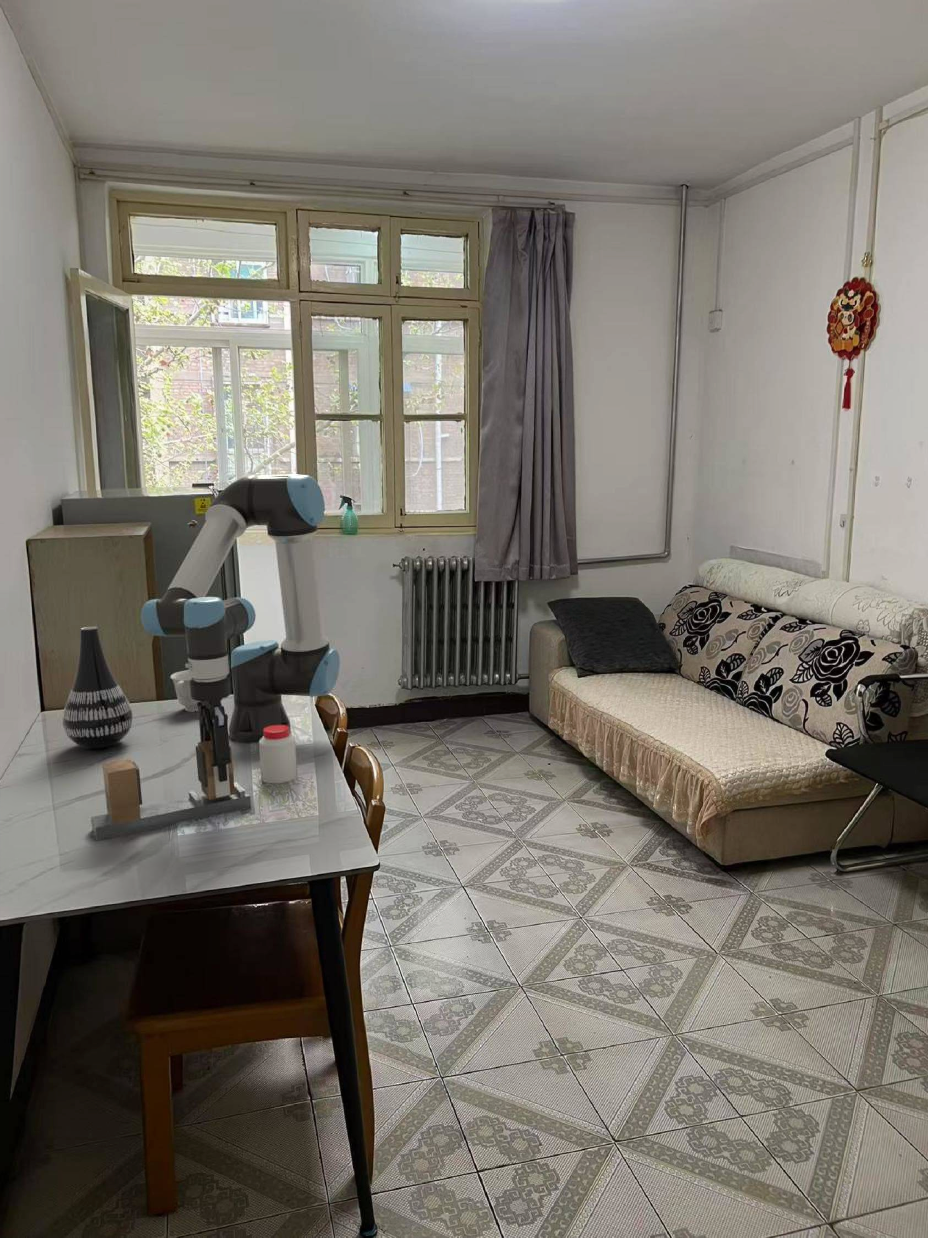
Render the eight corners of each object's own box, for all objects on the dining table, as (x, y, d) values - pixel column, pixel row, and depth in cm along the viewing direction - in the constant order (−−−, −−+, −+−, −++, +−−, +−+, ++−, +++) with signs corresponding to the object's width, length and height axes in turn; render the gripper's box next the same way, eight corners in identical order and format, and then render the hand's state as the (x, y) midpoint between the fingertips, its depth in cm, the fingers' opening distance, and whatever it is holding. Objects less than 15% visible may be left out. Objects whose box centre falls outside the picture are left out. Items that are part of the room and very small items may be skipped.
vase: (135, 733, 236) (125, 619, 231) (134, 751, 221) (123, 631, 216) (68, 740, 231) (56, 625, 226) (62, 760, 216) (49, 636, 211)
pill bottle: (304, 773, 203) (301, 725, 201) (283, 785, 196) (280, 735, 194) (275, 769, 206) (272, 721, 204) (254, 780, 199) (250, 731, 197)
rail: (242, 798, 189) (238, 739, 187) (251, 807, 184) (246, 747, 182) (92, 829, 175) (85, 766, 173) (96, 840, 170) (90, 776, 168)
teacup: (160, 717, 249) (156, 681, 247) (185, 702, 264) (182, 668, 262) (202, 718, 247) (199, 682, 245) (225, 703, 262) (222, 669, 260)
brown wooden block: (226, 785, 187) (222, 738, 185) (234, 794, 182) (231, 746, 180) (198, 791, 184) (194, 743, 183) (206, 800, 179) (202, 751, 177)
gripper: (178, 670, 185) (188, 780, 190) (202, 690, 169) (211, 810, 173) (215, 665, 189) (224, 773, 193) (242, 684, 173) (251, 801, 177)
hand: (218, 790), depth 183 cm, fingers closed on brown wooden block, 6 cm apart
